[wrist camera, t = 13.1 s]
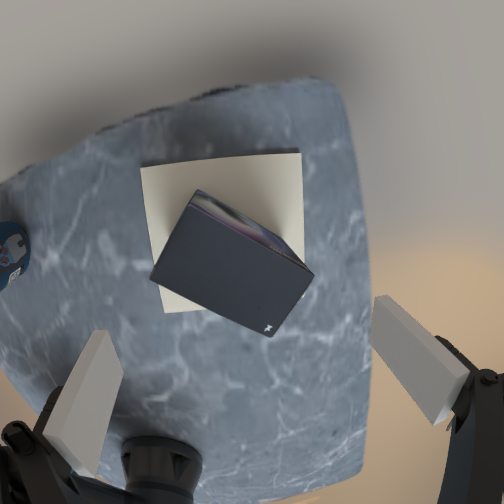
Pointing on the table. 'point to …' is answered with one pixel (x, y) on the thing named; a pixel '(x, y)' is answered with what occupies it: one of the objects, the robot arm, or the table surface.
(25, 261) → the soda can
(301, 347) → the table surface
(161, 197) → the mat
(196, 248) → the small box
